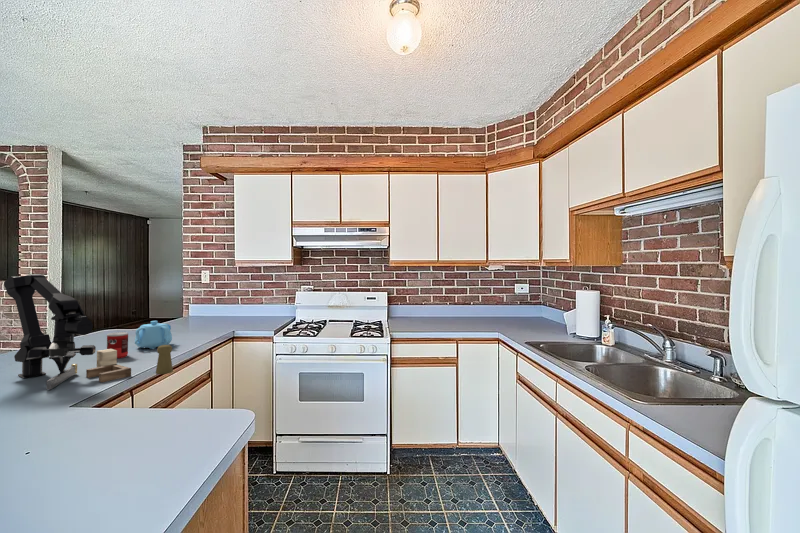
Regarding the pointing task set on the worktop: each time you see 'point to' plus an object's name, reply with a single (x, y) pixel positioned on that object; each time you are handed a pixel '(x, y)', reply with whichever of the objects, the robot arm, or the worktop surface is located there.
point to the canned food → (118, 343)
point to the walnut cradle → (109, 372)
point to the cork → (164, 360)
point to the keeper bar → (61, 377)
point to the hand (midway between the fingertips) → (61, 374)
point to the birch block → (106, 357)
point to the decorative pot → (153, 335)
